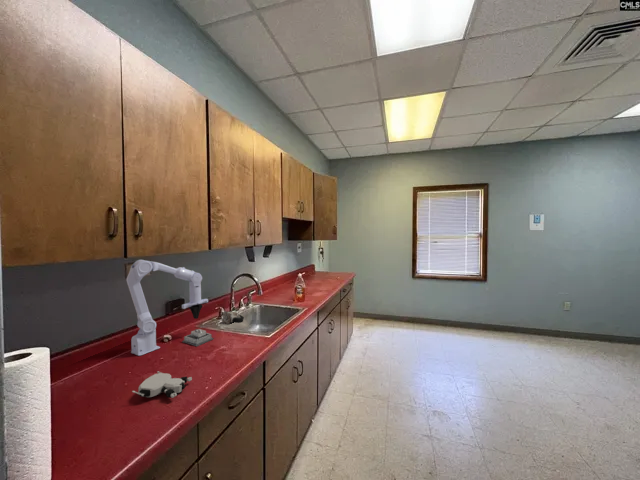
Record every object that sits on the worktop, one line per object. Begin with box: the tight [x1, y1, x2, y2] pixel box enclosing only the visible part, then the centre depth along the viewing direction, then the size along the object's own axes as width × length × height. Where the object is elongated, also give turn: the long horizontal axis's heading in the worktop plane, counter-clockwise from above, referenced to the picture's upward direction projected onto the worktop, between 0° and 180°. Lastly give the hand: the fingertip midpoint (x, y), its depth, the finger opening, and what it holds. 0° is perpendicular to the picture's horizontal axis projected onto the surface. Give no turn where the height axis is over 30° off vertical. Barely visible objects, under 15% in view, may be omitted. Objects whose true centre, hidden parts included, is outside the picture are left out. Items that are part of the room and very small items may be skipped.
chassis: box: [181, 332, 215, 347], centre depth 133 cm, size 10×12×3 cm
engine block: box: [190, 328, 207, 339], centre depth 133 cm, size 4×6×5 cm
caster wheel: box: [221, 310, 245, 325], centre depth 162 cm, size 7×11×10 cm
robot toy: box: [131, 371, 193, 399], centre depth 89 cm, size 12×4×15 cm
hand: (195, 318), depth 139 cm, fingers closed
